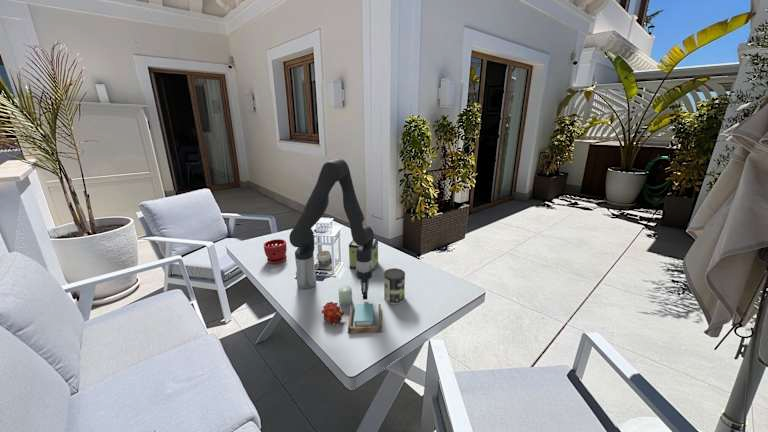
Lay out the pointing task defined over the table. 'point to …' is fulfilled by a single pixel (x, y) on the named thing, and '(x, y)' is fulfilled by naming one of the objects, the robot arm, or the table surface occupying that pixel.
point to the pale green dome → (345, 295)
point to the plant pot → (275, 251)
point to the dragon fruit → (332, 312)
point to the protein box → (353, 258)
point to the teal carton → (364, 315)
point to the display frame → (364, 328)
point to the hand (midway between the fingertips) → (365, 298)
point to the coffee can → (394, 286)
